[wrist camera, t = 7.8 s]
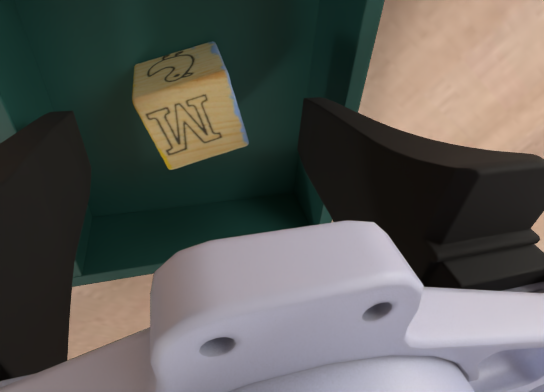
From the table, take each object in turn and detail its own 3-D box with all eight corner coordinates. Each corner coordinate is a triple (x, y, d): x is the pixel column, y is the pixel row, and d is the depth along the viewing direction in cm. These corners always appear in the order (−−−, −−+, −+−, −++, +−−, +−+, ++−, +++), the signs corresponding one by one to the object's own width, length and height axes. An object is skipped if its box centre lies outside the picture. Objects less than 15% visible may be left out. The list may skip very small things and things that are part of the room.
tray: (299, 192, 20) (326, 245, 17) (84, 218, 17) (70, 287, 14) (345, -120, 11) (415, -124, 8) (-63, -162, 9) (-170, -190, 6)
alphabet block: (236, 110, 15) (252, 148, 13) (166, 133, 15) (169, 175, 13) (214, 37, 13) (227, 68, 11) (132, 63, 13) (128, 99, 11)
